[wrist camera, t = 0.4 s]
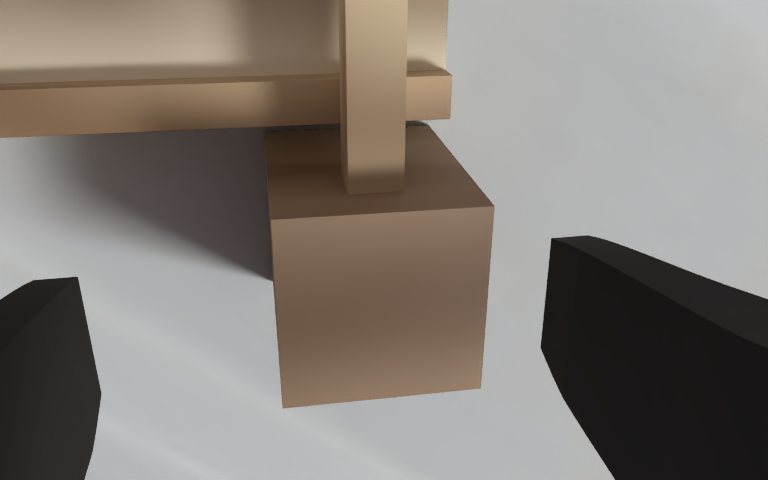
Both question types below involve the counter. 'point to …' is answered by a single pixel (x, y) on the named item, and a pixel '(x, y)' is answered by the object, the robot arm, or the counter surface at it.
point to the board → (193, 65)
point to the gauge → (375, 237)
